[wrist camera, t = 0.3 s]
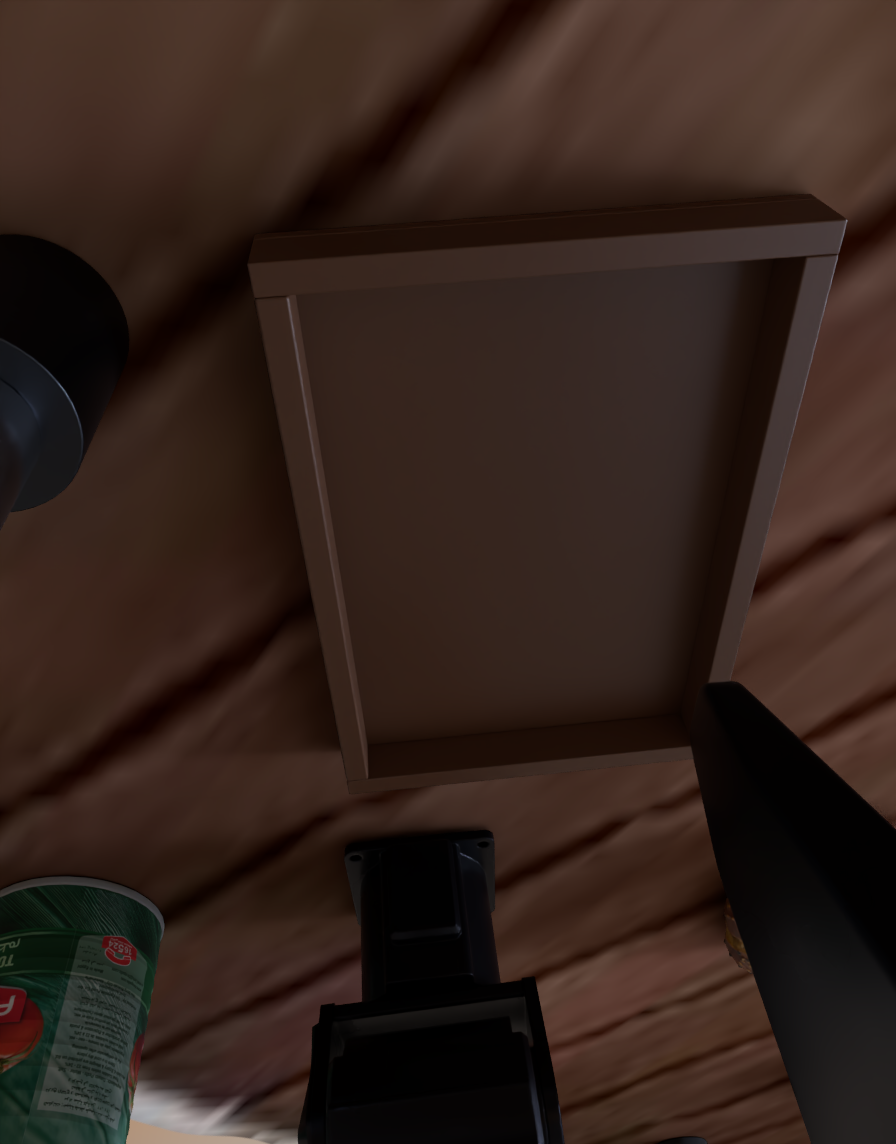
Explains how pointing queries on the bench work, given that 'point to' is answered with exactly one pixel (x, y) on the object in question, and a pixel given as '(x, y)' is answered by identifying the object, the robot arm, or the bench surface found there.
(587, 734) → the tray
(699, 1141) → the drinking cup
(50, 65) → the bench surface
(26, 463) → the dark cylinder
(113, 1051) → the canned tomato
